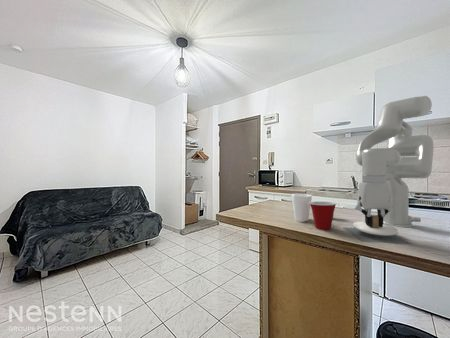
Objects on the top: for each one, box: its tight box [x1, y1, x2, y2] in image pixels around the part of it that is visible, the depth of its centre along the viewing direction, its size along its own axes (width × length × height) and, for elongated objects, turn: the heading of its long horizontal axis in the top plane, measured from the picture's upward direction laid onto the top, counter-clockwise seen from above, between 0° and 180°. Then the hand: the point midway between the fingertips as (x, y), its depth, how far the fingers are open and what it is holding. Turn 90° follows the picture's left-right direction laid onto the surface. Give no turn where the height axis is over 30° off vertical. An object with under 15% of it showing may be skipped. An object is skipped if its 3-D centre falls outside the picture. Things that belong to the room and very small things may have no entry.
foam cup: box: [291, 193, 313, 223], centre depth 99 cm, size 10×9×13 cm
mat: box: [342, 226, 412, 245], centre depth 77 cm, size 16×16×1 cm
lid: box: [352, 214, 399, 236], centre depth 77 cm, size 14×14×5 cm
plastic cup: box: [309, 201, 338, 231], centre depth 85 cm, size 11×11×12 cm
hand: (374, 225), depth 77 cm, fingers closed on lid, 3 cm apart
